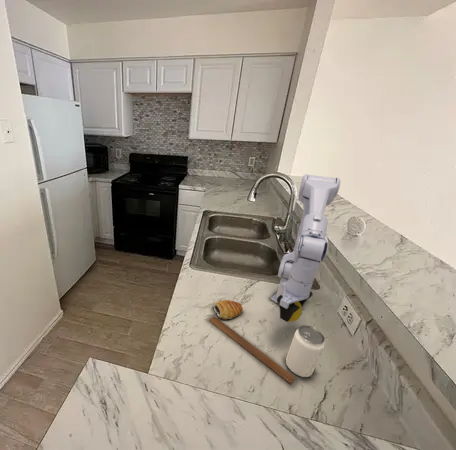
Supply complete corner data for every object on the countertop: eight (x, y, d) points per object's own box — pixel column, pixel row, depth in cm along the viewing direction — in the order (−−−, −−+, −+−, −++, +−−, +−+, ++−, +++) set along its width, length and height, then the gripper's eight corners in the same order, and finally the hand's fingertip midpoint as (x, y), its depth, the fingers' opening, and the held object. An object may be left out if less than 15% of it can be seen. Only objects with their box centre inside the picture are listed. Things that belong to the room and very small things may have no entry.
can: (280, 356, 70) (291, 324, 65) (302, 354, 70) (315, 323, 65) (294, 379, 64) (307, 346, 59) (318, 377, 65) (333, 344, 59)
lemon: (300, 329, 72) (307, 307, 69) (279, 325, 73) (286, 304, 70) (294, 314, 77) (301, 294, 74) (275, 311, 78) (281, 291, 75)
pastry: (235, 302, 89) (237, 294, 87) (246, 317, 83) (248, 308, 81) (211, 307, 86) (212, 298, 85) (220, 322, 81) (222, 313, 79)
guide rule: (214, 317, 82) (214, 316, 82) (294, 379, 64) (295, 377, 64) (209, 320, 81) (209, 319, 81) (290, 384, 63) (291, 383, 63)
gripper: (298, 261, 75) (287, 296, 81) (273, 280, 67) (263, 318, 73) (324, 272, 70) (310, 309, 76) (300, 294, 62) (287, 333, 68)
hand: (289, 314), depth 74 cm, fingers closed on lemon, 5 cm apart
